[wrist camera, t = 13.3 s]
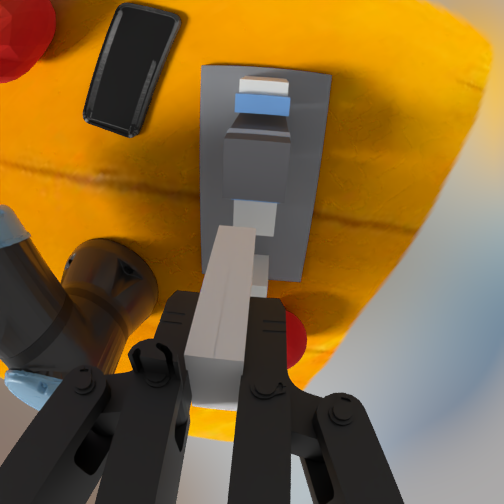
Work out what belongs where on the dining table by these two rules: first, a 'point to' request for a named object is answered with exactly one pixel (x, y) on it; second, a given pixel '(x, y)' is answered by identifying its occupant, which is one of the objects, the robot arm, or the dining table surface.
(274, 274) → the grey plate with blocks
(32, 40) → the tomato
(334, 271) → the dining table surface
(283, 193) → the plug
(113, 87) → the phone
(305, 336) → the ornament
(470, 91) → the dining table surface
